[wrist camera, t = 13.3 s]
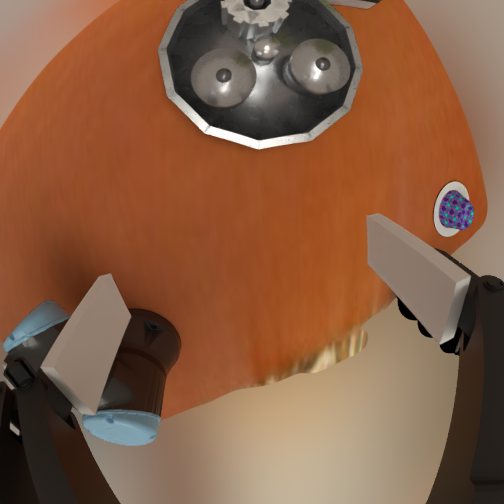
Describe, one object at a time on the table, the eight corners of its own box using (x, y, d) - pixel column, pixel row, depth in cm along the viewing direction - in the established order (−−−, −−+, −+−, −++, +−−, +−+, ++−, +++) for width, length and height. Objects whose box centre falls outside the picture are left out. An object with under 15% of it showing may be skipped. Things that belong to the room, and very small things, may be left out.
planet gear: (227, 45, 29) (227, 31, 24) (216, 0, 26) (215, -19, 20) (288, 38, 29) (298, 24, 24) (275, -7, 26) (283, -25, 20)
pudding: (459, 236, 48) (474, 246, 43) (425, 233, 47) (441, 244, 42) (471, 185, 43) (487, 192, 38) (437, 176, 42) (455, 182, 37)
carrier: (188, 163, 37) (179, 170, 30) (155, 9, 26) (143, -13, 19) (360, 133, 38) (387, 135, 30) (324, -11, 26) (342, -32, 19)
